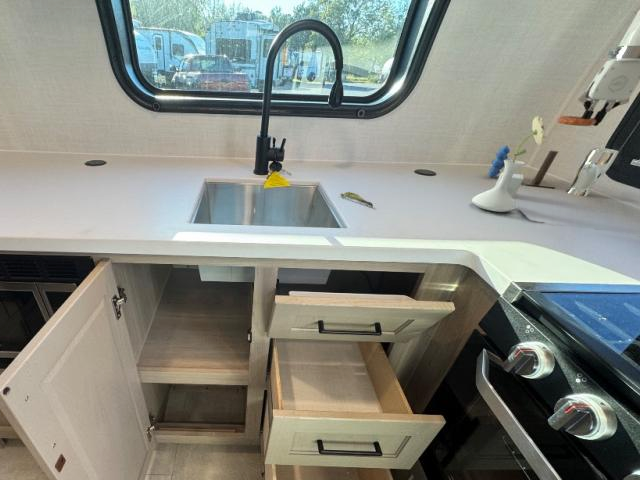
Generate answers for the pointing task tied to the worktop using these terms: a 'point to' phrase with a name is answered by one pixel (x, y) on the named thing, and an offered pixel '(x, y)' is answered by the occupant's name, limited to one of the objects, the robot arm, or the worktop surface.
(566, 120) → the ring
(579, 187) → the beer glass
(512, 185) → the product carton
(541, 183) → the stand
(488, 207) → the flower in vase
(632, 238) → the worktop surface
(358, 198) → the green bird figurine
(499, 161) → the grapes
